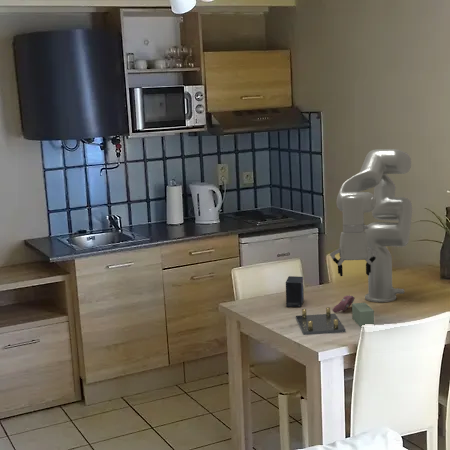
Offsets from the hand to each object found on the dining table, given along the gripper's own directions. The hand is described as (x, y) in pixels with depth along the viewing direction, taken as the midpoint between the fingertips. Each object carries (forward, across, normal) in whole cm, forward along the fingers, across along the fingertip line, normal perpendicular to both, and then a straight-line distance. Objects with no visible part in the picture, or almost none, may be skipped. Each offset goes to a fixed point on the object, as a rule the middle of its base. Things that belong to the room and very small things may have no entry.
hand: (354, 275), depth 261 cm
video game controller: (+18, +2, -16) cm, 24 cm away
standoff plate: (+18, +13, +3) cm, 22 cm away
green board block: (+18, -3, +1) cm, 18 cm away
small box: (+18, +21, -27) cm, 38 cm away
